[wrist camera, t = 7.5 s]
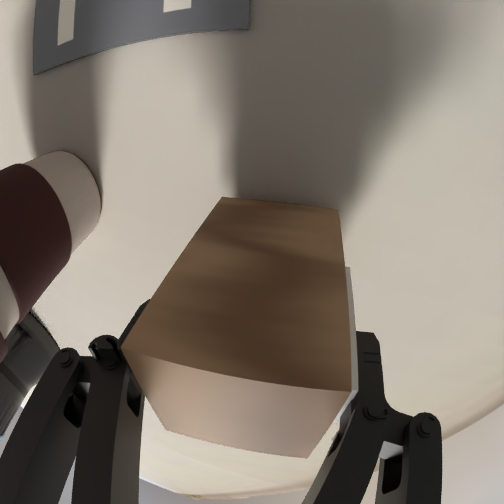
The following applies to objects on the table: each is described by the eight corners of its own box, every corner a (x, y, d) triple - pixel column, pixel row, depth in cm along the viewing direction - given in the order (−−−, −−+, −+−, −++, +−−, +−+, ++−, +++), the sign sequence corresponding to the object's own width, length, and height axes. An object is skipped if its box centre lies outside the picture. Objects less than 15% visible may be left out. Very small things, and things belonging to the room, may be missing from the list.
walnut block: (225, 285, 18) (165, 429, 10) (222, 196, 15) (120, 347, 7) (320, 298, 18) (307, 458, 9) (337, 209, 14) (351, 391, 6)
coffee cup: (52, 106, 15) (-127, 202, 3) (140, 191, 18) (-34, 371, 6) (23, 195, 20) (-92, 294, 8) (92, 267, 23) (-11, 399, 11)
